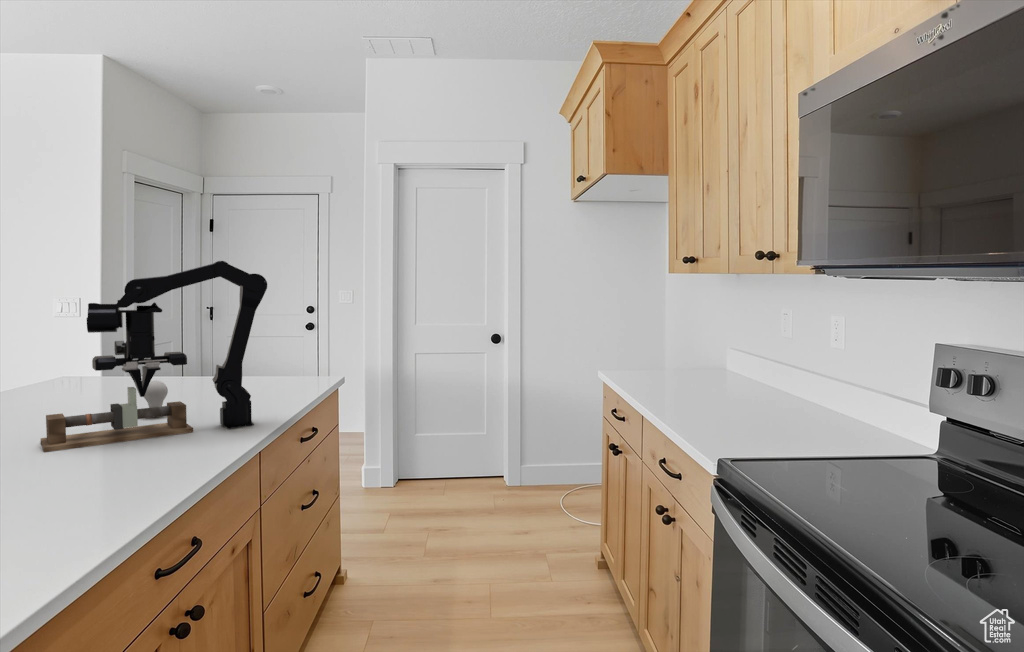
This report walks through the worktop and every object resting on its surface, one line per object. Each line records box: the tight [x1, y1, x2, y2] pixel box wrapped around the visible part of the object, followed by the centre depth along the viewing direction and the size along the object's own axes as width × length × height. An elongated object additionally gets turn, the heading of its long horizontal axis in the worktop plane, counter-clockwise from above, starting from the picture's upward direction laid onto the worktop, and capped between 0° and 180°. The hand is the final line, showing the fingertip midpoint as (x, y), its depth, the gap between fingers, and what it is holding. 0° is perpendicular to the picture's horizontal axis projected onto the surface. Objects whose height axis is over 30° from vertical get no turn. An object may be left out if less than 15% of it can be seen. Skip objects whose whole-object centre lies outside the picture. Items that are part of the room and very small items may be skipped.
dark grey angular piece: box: [109, 402, 123, 430], centre depth 142 cm, size 2×5×5 cm, turn 41°
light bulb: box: [143, 379, 168, 408], centre depth 164 cm, size 6×6×10 cm
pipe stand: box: [40, 400, 194, 453], centre depth 143 cm, size 29×10×6 cm, turn 131°
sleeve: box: [119, 386, 139, 428], centre depth 143 cm, size 3×5×9 cm, turn 41°
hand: (142, 396), depth 145 cm, fingers closed
